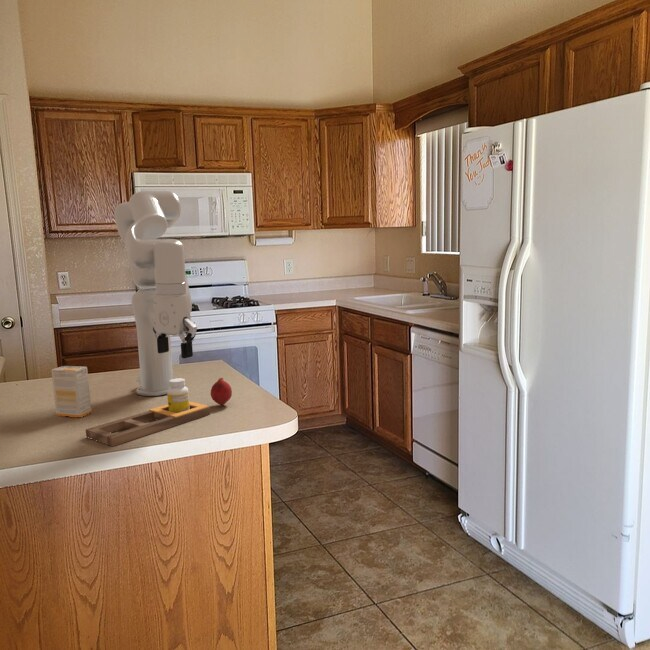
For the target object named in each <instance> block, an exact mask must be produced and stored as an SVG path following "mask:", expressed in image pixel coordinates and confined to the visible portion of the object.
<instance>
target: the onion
mask: <svg viewBox="0 0 650 650" xmlns="http://www.w3.org/2000/svg"><path fill="white" fill-rule="evenodd" d="M232 391H233V390H232V387H231V385H230V384H229V383H228V382H227V381H225V380H224V378H223V377H219V378H218V380H217V381H216V382H215V383H213V384H212V386H211V389H210V396H211V397H210V398H211V399H212V400H213V401H214V402H215V403H216V404H217V405H220V406H221V405H222V406H224V405H226V403H227V402H229V400H230V399H231V398H232V397H233V396H232V395H233V392H232Z"/></svg>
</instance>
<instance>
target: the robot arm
mask: <svg viewBox="0 0 650 650" xmlns="http://www.w3.org/2000/svg"><path fill="white" fill-rule="evenodd" d="M181 212H182V205H181V201H180V199H179V197H178V195H177V194H176V193H175V192H173V191H170V190H169V191H168V190H142V191H137V192H135V193H134V194H132V195H131V196H130V198H129V201H124V202H122V203H119V204H118V205H116V207H115V209H114V222H115V226H116V230H117V232H118V234H119V237H120V239H121V240H122V242H123V244H124V247H125V250H126V253H127V256H128V262H129V269H130V274H131V277H132V281H133V283H134V285H135V287H138V288H140V290H138V291H136V292H135V293H134V294H133V295H132V296H131V308H132V312H133V316H134V322H135V327H136V335H137V348H138V358H139V362H138V363H139V372H140V373H139V374H140V376H139V377H137V378H136V382H138V383H139V386H138V387H137V388H136V391H135V392H136V394H137V395H140V396H146V397H155V396H156V397H157V396H164V395H165V396H166V395H168V394H167V391H168V389H169V388H171V387H170V385H169V381H170V380H171V379H174V376H173V375H174V374H173V373H174V372H173V360H172V359H173V358H172V348H171V345H172V344H171V336H179V338H180V340H181V343H180V352H181V353H180V354H181V355H180V357H181V358H182V359H188V358H192V357H193V356H194V355H193V354H194V353H193V352H194V350H193V342H194V339H195V337H196V334H197V333H196V332H197V329H198V326H197V325H196V324H195V323H194V322H193V321H192V317H191V312H192V309H193V308H192V307H193V306H192V302H193V301H192V296H191V292H190V286H189V283H188V278H187V274H186V262H185V259H186V253H185V252H186V251H185V246H184V244H183V242H181V241H180V240H178V239H175V238H161V237H162V236H163V235H165V233H166V232H167V229H169V228H171V227H173V225H174V224H175V223H176V222H177V221H178V220H179V218H180V216H181ZM185 335H186V336H185Z"/></svg>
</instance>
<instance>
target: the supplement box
mask: <svg viewBox="0 0 650 650" xmlns="http://www.w3.org/2000/svg"><path fill="white" fill-rule="evenodd" d="M51 378H52V385H53V386H52V387H53V395H54V404H55V413H56V415H55V416H57V415H61V416H60V417H65V416H69V418H77V417H81V418H83V416H84V417H86V416H88V415H90V414H89V413H91V414H92V402H91V392H90V382H89V373H88V367H87V366H75V365H61V366H59V367H54V368H52V369H51ZM87 414H88V415H87ZM85 415H86V416H85Z"/></svg>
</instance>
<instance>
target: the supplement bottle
mask: <svg viewBox="0 0 650 650" xmlns="http://www.w3.org/2000/svg"><path fill="white" fill-rule="evenodd" d="M169 385H170V387H171V388H169V389H168V391H167V394H166V395H167V404H168V407H169V411H170V412H174V413H179V412H183V411H186V410H189V409H190V406H189V401H190V395H189V388H188V387H187V386H185V385H186V379H185V378H183V377H182V378H181V377H177V378H173V379H171V380H170V381H169Z"/></svg>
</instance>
